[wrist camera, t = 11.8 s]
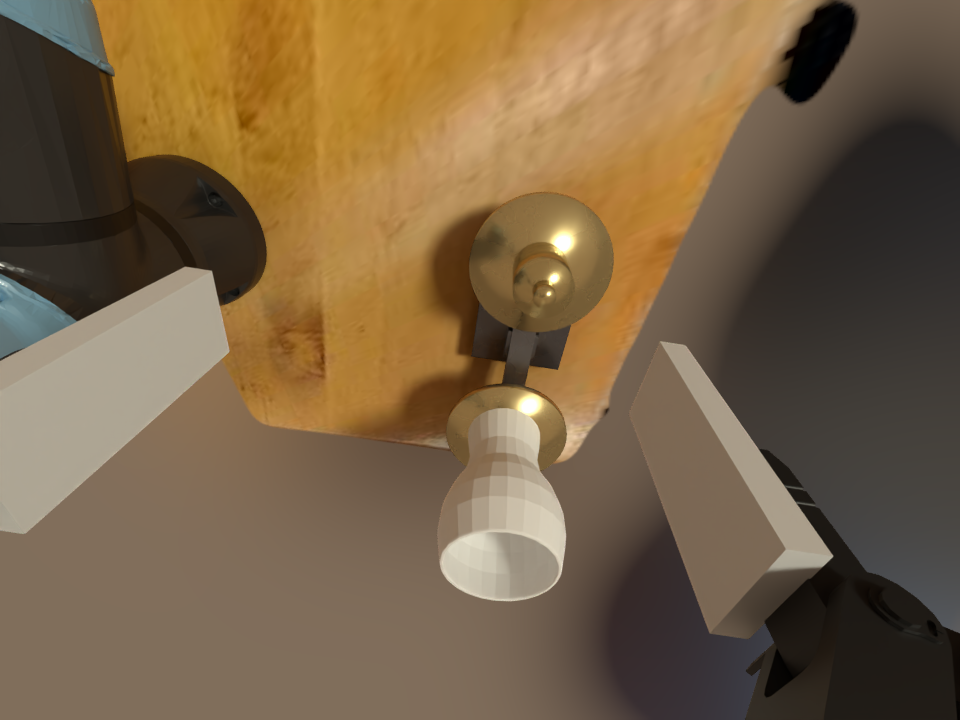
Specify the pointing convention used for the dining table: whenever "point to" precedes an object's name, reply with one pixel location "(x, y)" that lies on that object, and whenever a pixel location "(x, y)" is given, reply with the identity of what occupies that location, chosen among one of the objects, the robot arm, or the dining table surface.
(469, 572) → the cup
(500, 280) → the balance
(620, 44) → the dining table surface
